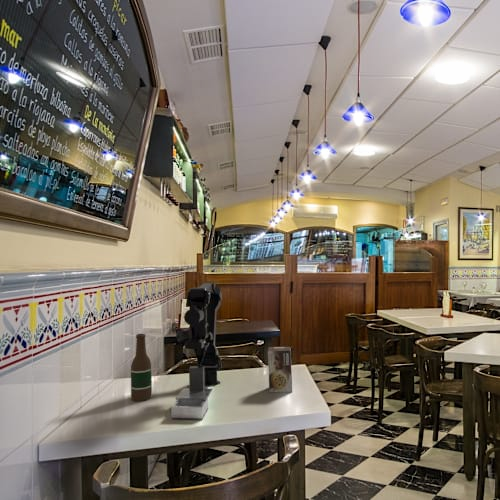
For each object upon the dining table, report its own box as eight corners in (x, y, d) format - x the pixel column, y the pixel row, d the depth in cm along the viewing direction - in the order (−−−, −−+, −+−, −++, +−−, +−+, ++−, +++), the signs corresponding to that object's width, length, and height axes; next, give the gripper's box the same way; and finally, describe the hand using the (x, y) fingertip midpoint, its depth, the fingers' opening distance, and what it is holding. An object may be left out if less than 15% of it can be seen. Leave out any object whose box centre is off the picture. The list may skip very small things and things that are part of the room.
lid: (183, 390, 135) (183, 366, 136) (212, 390, 134) (211, 366, 135) (175, 399, 126) (175, 374, 126) (206, 400, 125) (206, 374, 125)
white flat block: (179, 408, 129) (179, 397, 129) (208, 409, 128) (207, 397, 128) (171, 419, 120) (171, 407, 120) (202, 420, 119) (201, 407, 119)
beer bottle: (146, 402, 136) (145, 336, 137) (126, 401, 137) (126, 336, 138) (155, 395, 143) (154, 332, 144) (137, 394, 145) (136, 332, 146)
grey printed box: (292, 387, 149) (291, 346, 149) (292, 392, 142) (291, 350, 143) (269, 386, 150) (268, 346, 150) (268, 392, 143) (267, 350, 144)
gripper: (185, 317, 150) (186, 357, 149) (170, 325, 131) (170, 370, 131) (212, 317, 149) (213, 357, 148) (200, 325, 130) (201, 370, 129)
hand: (199, 363), depth 139 cm, fingers closed
